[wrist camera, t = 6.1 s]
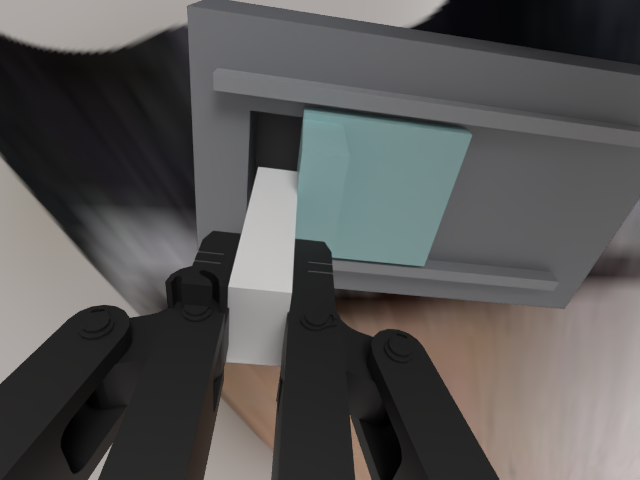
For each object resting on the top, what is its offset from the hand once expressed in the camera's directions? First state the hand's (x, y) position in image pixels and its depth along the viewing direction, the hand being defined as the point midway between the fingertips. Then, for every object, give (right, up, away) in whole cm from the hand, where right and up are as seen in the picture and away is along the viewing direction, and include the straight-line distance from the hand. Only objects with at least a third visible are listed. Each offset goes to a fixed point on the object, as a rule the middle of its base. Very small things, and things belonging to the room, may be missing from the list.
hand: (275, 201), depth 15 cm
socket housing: (+6, +3, +6) cm, 9 cm away
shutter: (+4, +1, +2) cm, 5 cm away
